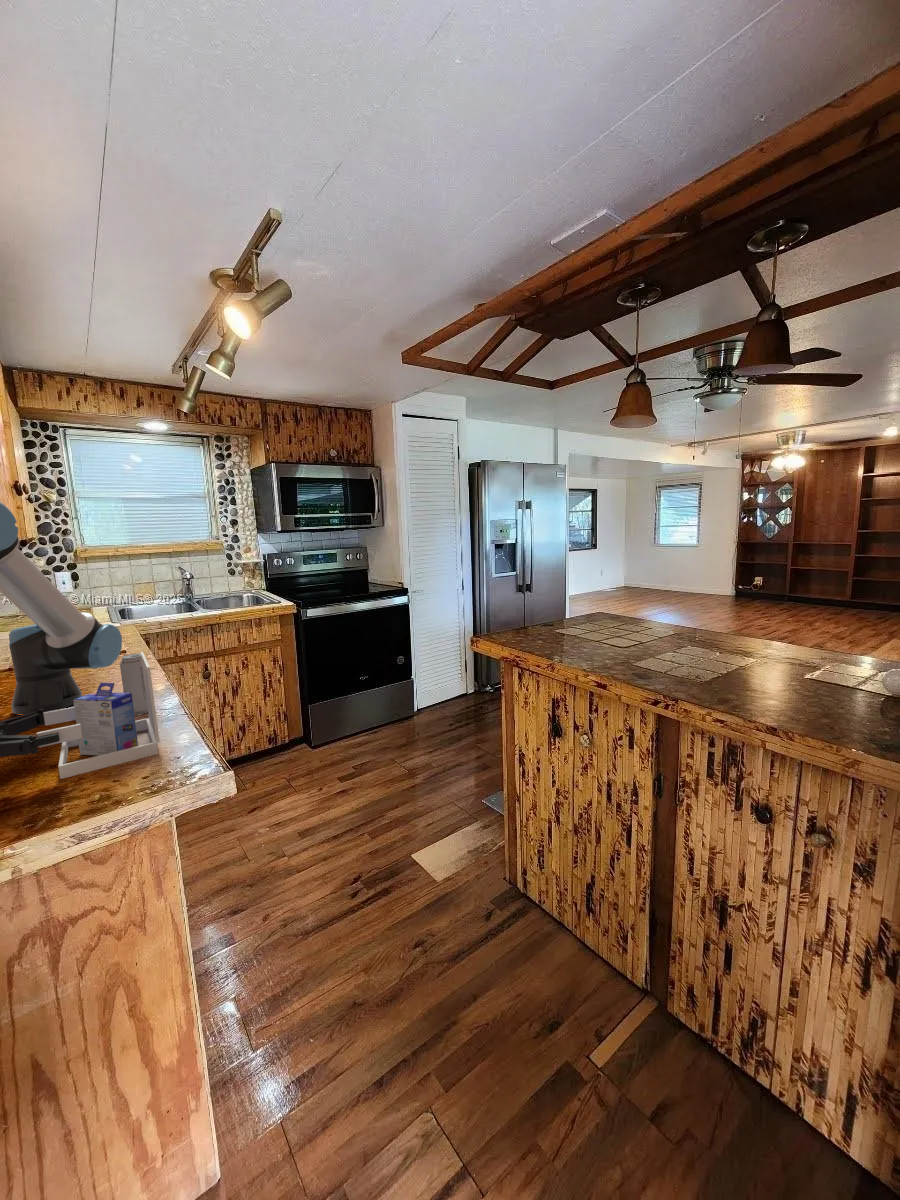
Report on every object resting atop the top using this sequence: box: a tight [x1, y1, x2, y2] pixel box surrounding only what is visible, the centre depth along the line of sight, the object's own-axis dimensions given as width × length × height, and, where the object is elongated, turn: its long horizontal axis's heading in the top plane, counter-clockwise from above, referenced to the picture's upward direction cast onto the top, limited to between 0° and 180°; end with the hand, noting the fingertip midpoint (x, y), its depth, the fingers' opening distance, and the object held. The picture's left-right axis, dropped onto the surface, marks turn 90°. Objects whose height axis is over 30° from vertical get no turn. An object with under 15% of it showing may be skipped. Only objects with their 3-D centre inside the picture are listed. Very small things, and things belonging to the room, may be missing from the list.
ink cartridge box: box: [73, 682, 139, 756], centre depth 103 cm, size 10×6×14 cm, turn 78°
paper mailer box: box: [58, 651, 160, 780], centre depth 103 cm, size 18×16×18 cm
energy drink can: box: [119, 653, 149, 716], centre depth 126 cm, size 6×6×15 cm
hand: (82, 720), depth 100 cm, fingers open, 13 cm apart
